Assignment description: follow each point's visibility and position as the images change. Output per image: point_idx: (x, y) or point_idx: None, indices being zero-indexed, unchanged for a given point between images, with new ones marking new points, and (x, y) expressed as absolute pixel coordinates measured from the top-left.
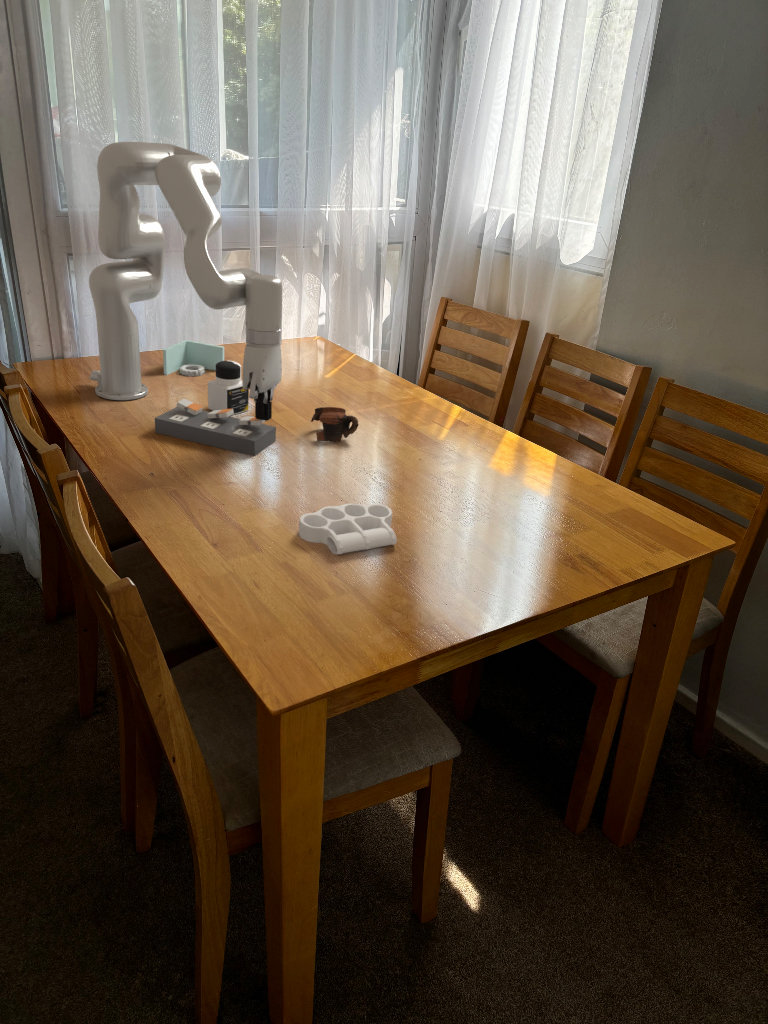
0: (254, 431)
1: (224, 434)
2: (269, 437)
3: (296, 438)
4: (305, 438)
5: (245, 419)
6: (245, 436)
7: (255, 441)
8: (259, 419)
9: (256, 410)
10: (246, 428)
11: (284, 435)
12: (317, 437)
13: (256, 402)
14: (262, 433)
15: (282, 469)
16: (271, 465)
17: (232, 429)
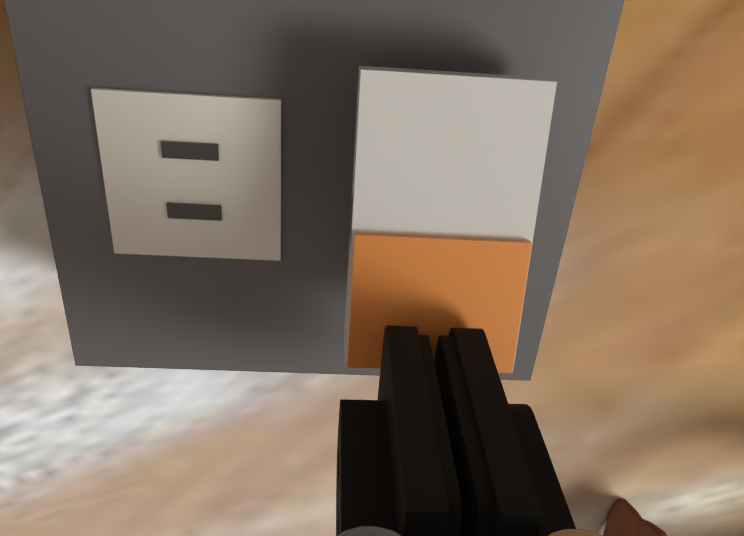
0: (305, 267)
1: (8, 2)
2: None
3: (618, 391)
4: (639, 435)
5: (404, 156)
6: (116, 250)
7: (94, 359)
8: (375, 367)
9: (389, 409)
10: (340, 161)
11: (653, 304)
12: (629, 519)
13: (400, 513)
14: (299, 347)
15: (54, 493)
16: (59, 427)
17: (212, 25)
